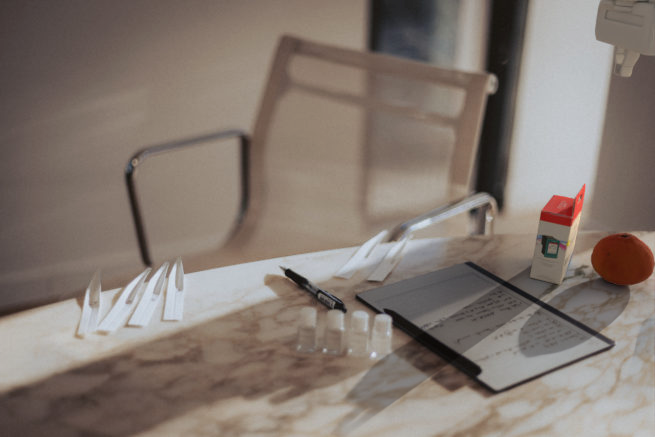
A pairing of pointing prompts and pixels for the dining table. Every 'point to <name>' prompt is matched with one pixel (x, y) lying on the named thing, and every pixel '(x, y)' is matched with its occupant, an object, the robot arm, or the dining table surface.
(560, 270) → the ink box
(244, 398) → the dining table surface
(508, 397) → the dining table surface
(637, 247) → the fruit
